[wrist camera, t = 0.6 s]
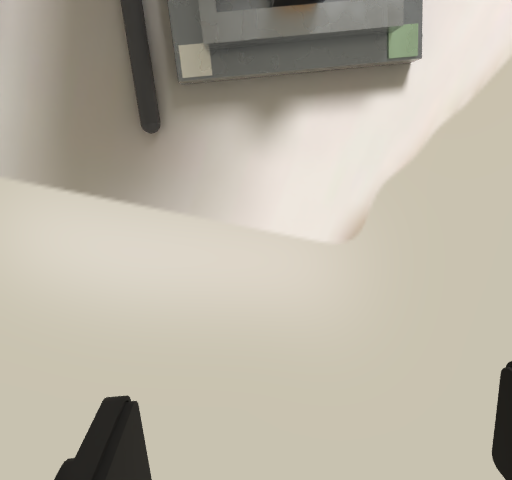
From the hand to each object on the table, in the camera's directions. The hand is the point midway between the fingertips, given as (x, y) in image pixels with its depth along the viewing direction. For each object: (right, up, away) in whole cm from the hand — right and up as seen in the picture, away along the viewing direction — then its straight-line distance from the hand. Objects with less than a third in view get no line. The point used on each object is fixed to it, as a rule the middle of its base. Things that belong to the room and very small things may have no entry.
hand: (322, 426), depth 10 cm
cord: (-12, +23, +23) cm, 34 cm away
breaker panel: (+1, +25, +23) cm, 34 cm away
